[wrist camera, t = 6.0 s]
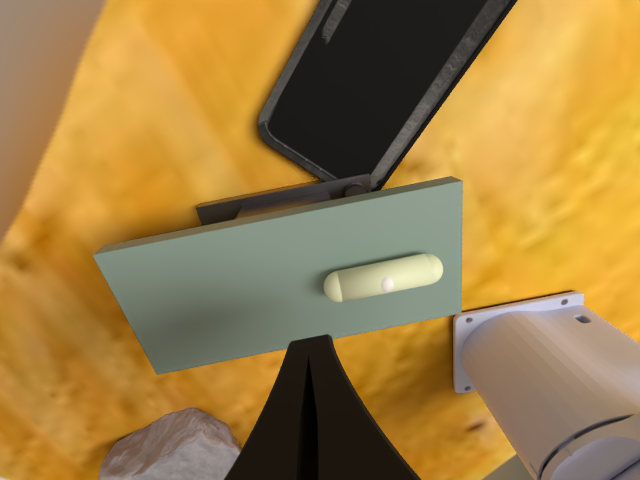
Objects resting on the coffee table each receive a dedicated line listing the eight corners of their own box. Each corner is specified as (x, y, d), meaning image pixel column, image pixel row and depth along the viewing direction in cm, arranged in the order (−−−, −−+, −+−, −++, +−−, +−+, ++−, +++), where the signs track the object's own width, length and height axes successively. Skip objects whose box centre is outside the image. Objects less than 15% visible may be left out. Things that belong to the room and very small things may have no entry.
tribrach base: (366, 171, 18) (380, 183, 15) (378, 272, 21) (392, 300, 18) (199, 203, 18) (181, 221, 15) (234, 300, 21) (224, 332, 18)
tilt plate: (442, 172, 15) (482, 189, 12) (444, 292, 18) (477, 332, 14) (115, 237, 15) (68, 272, 12) (170, 348, 17) (144, 400, 14)
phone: (564, -65, 14) (367, 208, 18) (545, -53, 15) (363, 202, 19) (436, -222, 12) (247, 131, 16) (424, -195, 13) (250, 130, 17)
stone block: (205, 378, 26) (99, 444, 25) (199, 428, 22) (72, 509, 21) (276, 449, 31) (189, 505, 30) (283, 501, 27) (182, 569, 26)
